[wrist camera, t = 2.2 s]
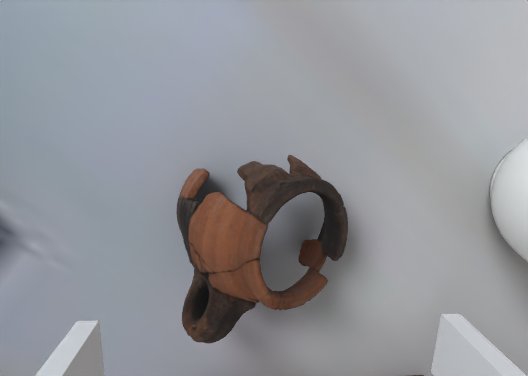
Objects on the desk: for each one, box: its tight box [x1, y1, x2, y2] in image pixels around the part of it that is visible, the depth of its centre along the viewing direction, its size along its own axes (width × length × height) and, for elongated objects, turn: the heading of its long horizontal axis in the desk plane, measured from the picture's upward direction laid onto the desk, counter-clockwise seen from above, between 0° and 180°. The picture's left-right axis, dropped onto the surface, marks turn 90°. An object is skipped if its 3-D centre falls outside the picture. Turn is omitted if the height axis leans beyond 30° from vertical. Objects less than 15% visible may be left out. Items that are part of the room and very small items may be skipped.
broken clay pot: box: [177, 155, 348, 343], centre depth 20 cm, size 12×10×8 cm
